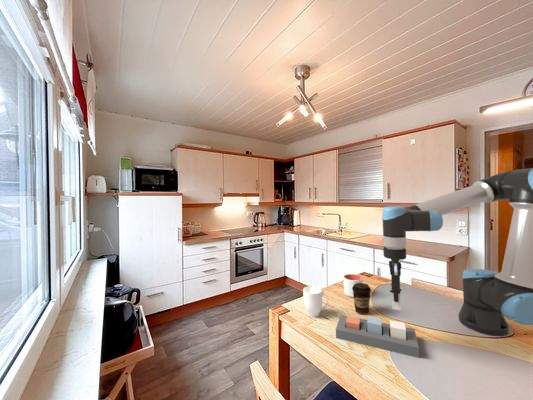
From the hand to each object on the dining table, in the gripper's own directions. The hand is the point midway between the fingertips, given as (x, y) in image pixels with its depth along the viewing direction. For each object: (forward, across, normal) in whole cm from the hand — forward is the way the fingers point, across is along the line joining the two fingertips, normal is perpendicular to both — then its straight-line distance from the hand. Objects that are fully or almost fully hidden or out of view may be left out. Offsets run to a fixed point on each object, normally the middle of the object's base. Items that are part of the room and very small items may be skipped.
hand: (396, 308), depth 86 cm
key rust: (+13, 0, -16) cm, 20 cm away
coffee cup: (+14, -19, -14) cm, 27 cm away
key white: (+11, 0, 0) cm, 11 cm away
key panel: (+13, 0, -8) cm, 15 cm away
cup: (+14, -37, -20) cm, 44 cm away
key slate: (+11, 0, -8) cm, 13 cm away
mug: (+14, -9, -34) cm, 37 cm away
